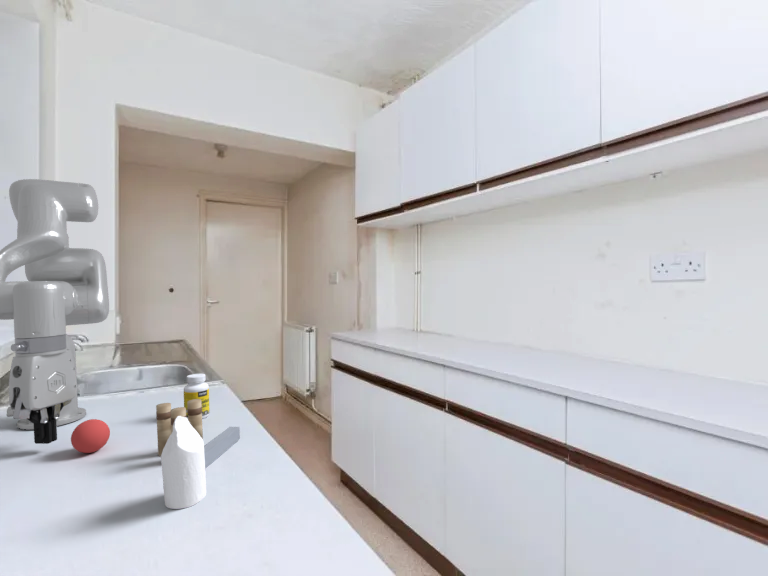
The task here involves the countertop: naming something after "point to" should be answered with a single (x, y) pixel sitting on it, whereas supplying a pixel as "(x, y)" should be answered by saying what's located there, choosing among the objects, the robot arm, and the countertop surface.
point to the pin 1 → (177, 414)
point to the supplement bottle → (197, 392)
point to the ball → (90, 436)
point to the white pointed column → (183, 466)
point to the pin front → (163, 425)
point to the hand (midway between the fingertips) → (45, 441)
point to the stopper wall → (220, 444)
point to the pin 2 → (195, 415)
